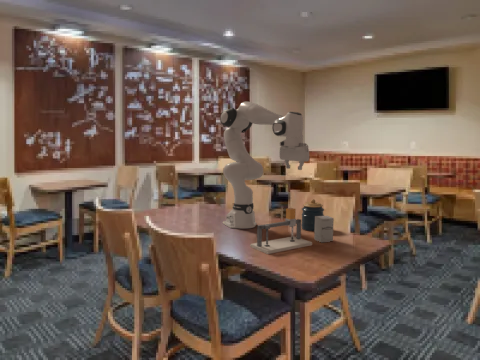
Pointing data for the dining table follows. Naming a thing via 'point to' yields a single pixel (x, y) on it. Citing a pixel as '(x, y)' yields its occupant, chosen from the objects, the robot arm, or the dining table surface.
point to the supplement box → (323, 228)
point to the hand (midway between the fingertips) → (293, 169)
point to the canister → (311, 214)
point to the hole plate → (281, 243)
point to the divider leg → (291, 218)
